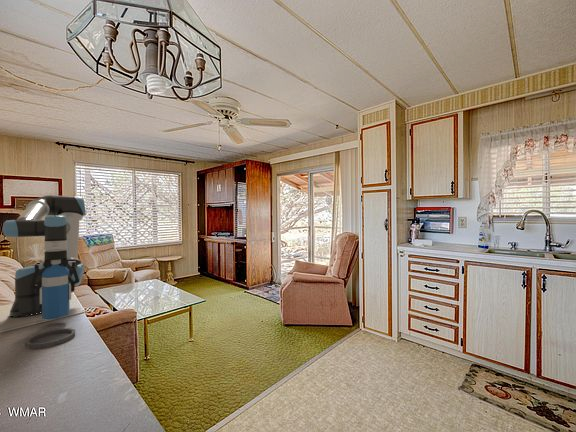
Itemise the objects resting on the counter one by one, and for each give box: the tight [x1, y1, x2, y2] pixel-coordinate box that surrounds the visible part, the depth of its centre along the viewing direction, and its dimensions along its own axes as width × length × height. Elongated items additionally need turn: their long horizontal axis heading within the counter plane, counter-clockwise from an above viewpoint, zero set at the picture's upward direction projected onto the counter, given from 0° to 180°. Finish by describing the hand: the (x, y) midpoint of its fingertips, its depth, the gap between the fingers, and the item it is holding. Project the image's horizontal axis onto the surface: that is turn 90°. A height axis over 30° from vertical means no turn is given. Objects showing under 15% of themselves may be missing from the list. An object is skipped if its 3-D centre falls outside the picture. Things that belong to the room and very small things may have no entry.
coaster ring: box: [24, 327, 76, 350], centre depth 101 cm, size 14×14×2 cm
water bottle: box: [41, 259, 71, 321], centre depth 117 cm, size 9×9×25 cm
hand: (56, 301), depth 117 cm, fingers closed on water bottle, 9 cm apart
